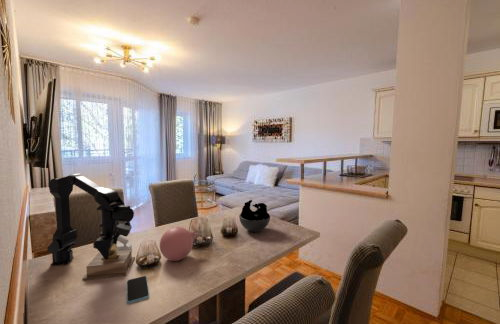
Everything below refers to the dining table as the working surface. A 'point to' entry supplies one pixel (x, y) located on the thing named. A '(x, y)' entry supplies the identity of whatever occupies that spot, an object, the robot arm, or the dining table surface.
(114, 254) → the brass bracket
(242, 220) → the bowl of black rocks
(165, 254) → the pink rounded piece
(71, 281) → the dining table surface
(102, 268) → the taupe square box
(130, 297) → the smartphone
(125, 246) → the white spotlight lamp
